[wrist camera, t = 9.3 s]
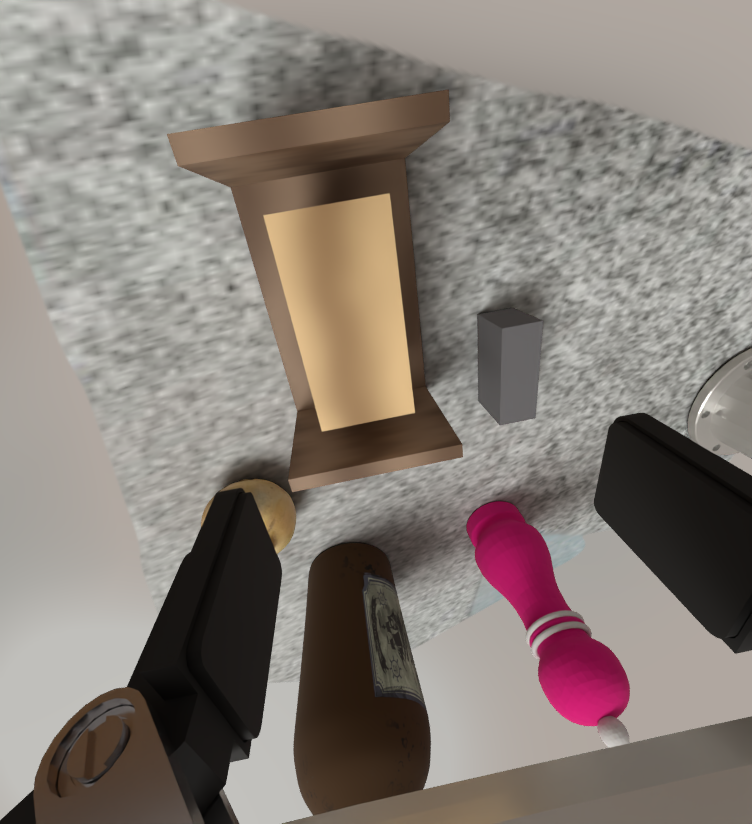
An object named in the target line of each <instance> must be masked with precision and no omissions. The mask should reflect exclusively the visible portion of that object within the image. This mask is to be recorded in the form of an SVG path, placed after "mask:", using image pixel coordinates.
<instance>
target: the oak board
mask: <svg viewBox="0 0 752 824" xmlns="http://www.w3.org/2000/svg"><path fill="white" fill-rule="evenodd" d="M263 216H264V220H265V224H266V227H267V231H268V235H269V239H270V242H271V246H272V250H273V253H274V257H275V261H276V264H277V268H278V272H279V275H280V279H281V283H282V286H283V290H284V294H285V298H286V301H287V305H288V309H289V312H290V316H291V320H292V323H293V327H294V331H295V334H296V338H297V342H298V345H299V349H300V353H301V356H302V360H303V364H304V368H305V371H306V375H307V379H308V382H309V386H310V390H311V393H312V397H313V401H314V404H315V408H316V412H317V415H318V419H319V423H320V426H321V430H322V432H323V431H328V430H333V429H338V428H343V427H347V426H352V425H357V424H362V423H367V422H372V421H377V420H382V419H387V418H392V417H397V416H402V415H407V414H412V413H415V408H414V399H413V391H412V382H411V373H410V365H409V356H408V347H407V339H406V330H405V321H404V313H403V304H402V295H401V287H400V278H399V269H398V261H397V252H396V243H395V235H394V226H393V217H392V209H391V200H390V193H388V194H383V195H377V196H371V197H365V198H360V199H354V200H348V201H342V202H337V203H331V204H325V205H320V206H314V207H308V208H302V209H297V210H291V211H285V212H280V213H274V214H268V215H263Z"/></svg>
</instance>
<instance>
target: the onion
mask: <svg viewBox="0 0 752 824" xmlns="http://www.w3.org/2000/svg"><path fill="white" fill-rule="evenodd" d="M236 488H242V489H243V490H244V491H245V493H246V492H251V493H252V494H253V496H254V499H255V501H256V504H257V506H258V509H259V511H260V514H261V516H262V519H263V521H264V523H265V526H266V528H267V531H268V533H269V536H270V538H271V541H272V543H273V546H274V548H275V551H276V553H277V554H278V553H279V552H280V551H281V550H282V549H283V548H284V547H285V546H286V545H287V544H288V543H289V542H290V540H291V538H292V536H293V534H294V530H295V524H296V510H295V506H294V503H293V501H292V499H291V497H290V496H289V495H288V493H287V492H286V491H285V490H283V489H282V488H280V487H279V486H278V485H276V484H275V483H272V482H270V481H267V480H263V479H262V480H261V479H253V480H248V479H246V480H245V479H244V480H243V479H242V480H241V481H239V482H236V483H233V484H230V485H229V486H227V487H225V488H224V489H222V490H220V491H225V490H231V489H236ZM220 491H219V492H220ZM213 499H214V497H213V498H212V499H211V500H210V501H209V503H208V504H207V506H206V508H205V510H204V512H203V515H202V521H201V527H202V525H203V522H204V520H205V517H206V515H207V513H208V510H209V508H210V506H211V503H212V501H213Z"/></svg>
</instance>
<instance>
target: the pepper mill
mask: <svg viewBox="0 0 752 824" xmlns="http://www.w3.org/2000/svg"><path fill="white" fill-rule="evenodd" d="M467 533H468V535H469V537H470V539H471V541H472V544H473V545H474V546H475V548H476V549H475V560H476V563H477V565H478V567H479V569H480V571H481V572H482V574H483V576H484V577H485V578H486V579H487V581H488V582H489V583H490V584H491V585H492V586H493V587H494V588H495V589H497V590H498V591H499V592H500V593H501V594H502V595H503V596H504V597H505V598H506V599H507V600H508V601H509V602H510V603H511V604H512V606H513V607H514V608H515V610H516V611H517V613H518V614H519V616H520V618H521V619H522V621H523V623H524V625H525V628H526V630H527V633H526V642H527V643H528V645H529V646H530V647H531V651H532V654H533V655H534V656H535V657H536V658H537V659H539V660H540V661H539V667H538V676H539V682H540V684H541V686H542V689H543V691H544V693H545V695H546V697H547V698H548V700H549V702H550V703H551V704H552V706H553V707H554V708H555V709H556V711H558V712H559V713H560V714H561V715H562V716H563V717H565V718H566V719H568V720H569V721H571V722H573V723H576V724H579V725H584V726H597V728H598V733H599V736H600V738H601V739H602V741H603V742H604V743H605V744H606V745H607V746H608V747H609V748H610V747H615V746H619V745H624V744H628V743H629V735H628V732H627V730H626V728H625V726H624V725H623V724H622V722H620V721H619V720H618V719H617V717H618V716H619V715H621V713H622V712H623V711H624V709H625V708H626V707H627V704H628V701H629V696H630V690H629V689H630V687H629V682H628V679H627V675H626V673H625V671H624V669H623V667H622V665H621V663H620V662H619V660H618V658H617V657H616V656H615V654H614V653H613V652H612V651H611V650H610V649H609V648H608V647H607V646H605V645H604V644H602V643H600V642H599V641H596V640H594V639H592V638H591V634H592V633H591V630H590V628H589V627H588V626H587V625H586V624H585V623H584V620H583V618H582V616H581V615H580V614H578V613H577V612H574V611H572V610H571V609H570V608H569V607H568V605H567V604H566V602H565V600H564V598H563V596H562V594H561V593H560V591H559V589H558V586H557V583H556V581H555V577H554V572H553V567H552V561H551V556H550V553H549V550H548V547H547V545H546V542H545V541H544V539H543V537H542V536H541V534H540V533H539V532H538V531H537V529H536V528H534V527H533V526H531V525H529V524H526V522H525V520H524V518H523V516H522V515H521V513H520V512H519V510H518V509H517V508H516V507H515V506H514V505H513V504H511V503H508V502H502V501H496V502H491V503H488V504H485V505H483V506H481V507H480V508H478V509H477V510H476V511H475V512H474V513H473V514H472V515H471V516H470V518H469V520H468V522H467Z"/></svg>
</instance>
